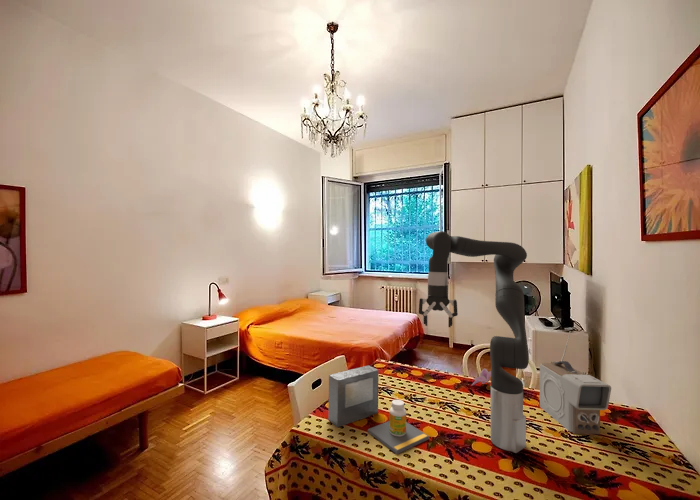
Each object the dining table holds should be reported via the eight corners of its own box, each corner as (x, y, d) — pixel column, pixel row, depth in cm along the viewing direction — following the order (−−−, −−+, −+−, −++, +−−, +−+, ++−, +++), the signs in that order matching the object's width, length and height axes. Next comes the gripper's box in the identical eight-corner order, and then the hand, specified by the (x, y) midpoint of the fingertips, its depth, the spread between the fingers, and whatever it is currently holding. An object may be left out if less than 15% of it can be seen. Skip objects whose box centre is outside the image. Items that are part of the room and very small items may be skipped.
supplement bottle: (393, 438, 100) (393, 407, 100) (386, 429, 106) (387, 399, 106) (409, 435, 102) (409, 405, 102) (401, 426, 107) (402, 397, 107)
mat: (428, 439, 102) (428, 435, 102) (396, 454, 94) (396, 450, 94) (398, 420, 113) (398, 417, 113) (367, 432, 105) (367, 428, 105)
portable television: (578, 440, 102) (578, 347, 102) (537, 405, 126) (537, 329, 126) (616, 441, 102) (616, 347, 102) (567, 405, 125) (568, 330, 126)
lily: (499, 387, 145) (490, 366, 149) (508, 387, 134) (497, 364, 138) (474, 395, 145) (465, 373, 149) (480, 395, 134) (471, 372, 138)
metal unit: (378, 413, 118) (379, 370, 118) (337, 428, 108) (338, 380, 108) (367, 405, 124) (367, 364, 124) (327, 419, 113) (328, 374, 114)
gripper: (457, 283, 123) (456, 325, 122) (419, 282, 127) (419, 322, 126) (458, 285, 115) (457, 329, 115) (418, 284, 119) (418, 327, 119)
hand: (437, 326), depth 121 cm, fingers open, 8 cm apart
